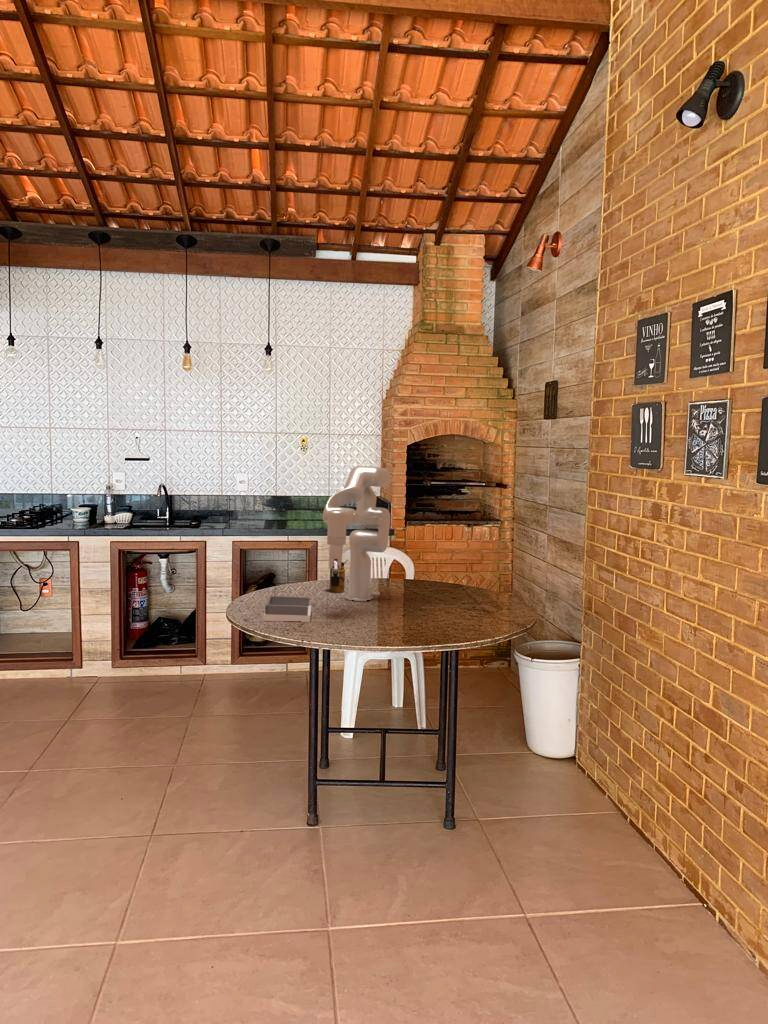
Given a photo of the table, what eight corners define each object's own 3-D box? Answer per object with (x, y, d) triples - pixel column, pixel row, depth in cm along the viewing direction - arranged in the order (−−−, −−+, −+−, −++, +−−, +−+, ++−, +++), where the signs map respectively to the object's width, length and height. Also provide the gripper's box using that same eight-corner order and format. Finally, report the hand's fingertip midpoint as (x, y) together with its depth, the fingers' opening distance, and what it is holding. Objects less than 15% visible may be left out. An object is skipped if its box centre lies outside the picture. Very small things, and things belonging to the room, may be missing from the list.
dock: (311, 611, 289) (311, 597, 288) (309, 622, 271) (310, 607, 270) (267, 609, 287) (267, 595, 287) (263, 620, 270) (263, 605, 269)
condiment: (348, 592, 282) (349, 563, 280) (329, 594, 277) (331, 564, 275) (339, 588, 288) (340, 560, 286) (321, 590, 283) (322, 561, 281)
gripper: (327, 536, 288) (325, 579, 290) (327, 543, 271) (325, 589, 273) (345, 537, 289) (343, 579, 291) (346, 544, 272) (344, 589, 274)
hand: (334, 583), depth 282 cm, fingers closed on condiment, 6 cm apart
